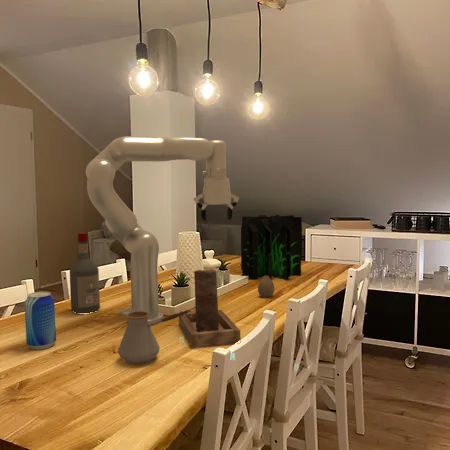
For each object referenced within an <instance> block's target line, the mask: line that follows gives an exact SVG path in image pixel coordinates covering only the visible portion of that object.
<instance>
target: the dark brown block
mask: <svg viewBox="0 0 450 450" xmlns="http://www.w3.org/2000/svg"><path fill="white" fill-rule="evenodd" d="M193 275H194V302H195V303H194V305H195V307H194V309H195V312H196V328H197V329H199V330H200V331H203V332H205V331H216V330H218V329H219V320H218V310H219V308H218V307H219V304H218V302H219V301H218V300H219V299H218V280H217V279H218V275H217V270H216V269H214V268H212V269H211V268H210V269H209V270H208V269H205V270H202V269H197V270H194V272H193Z"/></svg>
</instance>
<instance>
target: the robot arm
mask: <svg viewBox="0 0 450 450" xmlns="http://www.w3.org/2000/svg"><path fill="white" fill-rule="evenodd" d="M179 160H190V161H195V162H196V161H203V160H204V161H205V170H203V171H202V173H201V175H204V176H205V177H204V179H203V185H202V187H203V188H202V192H201V194H198V195H197V196H195V197H194V198H193V201H194V203H195V205H196V206H197V207H198V208H199V209H200V218H201V219H202V221H204V222H205V221H207V210H206V208H207V206H211V205H212V206H213V205H216V206H217V205H218V206H219V205H220V206H221V205H225V206H226V207H227V210H226V211H227V212H226V214H227V216H226V219H227V220H229V221H231V220H232V218H233V209H234V208H235V207H236V206H237V203H239V200H240V197H239V195H238V196H237V195H236V194H234V193H232V192H231V185H230V184H231V183H230V179H229V177H227V143H226V141H224V140H221V139H220V140H219V139H218V140H217V139H216V140H212V139H211V140H209V139H207V138H203V137H202V138H201V137H168V136H134V135H133V136H130V135H129V136H127V135H126V136H120V137H118V138H115V139H114V140H112V141H111V142H110V143H109V144H108V145H107V146H106V147H105V148H104V149H103V150H102V151H100V153H98V154H97V155H96V156H95V157H94V158H93V159H92V160H90V162H89V163H88V164H87V166H86V168H85V176H86V178H87V179H86V180H87V181H86V182H87V183H86V188H87V195H88V197H89V200H90V201H91V203H92V205H93V206H94V207H95V209H96V210H97V211H98V212H99V214H100V216H102V218H104V223H105V226H106V228H107V229H108V231H110V233H111V234H112V235H113V237H115V238H116V240H117V241H118V242H119V243H120V244H121V245H122V246H123V247H124V248H125V250H126V251H127V252H129V253H130V265H129V266H130V268H129V269H130V295H131V296H130V301H131V302H130V303H131V305H129V306H130V307H127V308H125V309H124V308H122V309H121V308H120V309H118V315H119V316H122V317H123V316H125V317H126V315H127V314H128V313H131V312H138V311H143V312H148V313H149V314H150V315H149V316H148V319H147V322H148V324H150V323H153V322H156V321H159V320H161V319H163V318H164V314H163V312H160V311H159V310H160V309H159V307H160V306H159V277H158V273H159V272H158V263H159V262H158V261H159V251H160V246H159V242H158V239H157V237H156V236H155V235H154V234H153V233H151V232H149V231H147V230H144V229H143V228H142V226H141V225H139V223H138V219H137V216H136V214H135V213H134V212H133V211H132V210H131V209H130V208H129V207H128V206H127V204H126V203H125V202H124V201H123V200H122V199H121V197H120V196H119V195H118V194H117V192H116V190H115V188H114V179H115V176H116V172H117V171H119V169H120V168H121V167H122V166H124V164H125V163H126V162H155V163H157V162H159V163H160V162H171V161H179ZM200 199H202V204H201V203H200V201H199V200H200ZM232 199H233V201H232Z"/></svg>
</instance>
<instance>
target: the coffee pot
mask: <svg viewBox="0 0 450 450" xmlns="http://www.w3.org/2000/svg"><path fill="white" fill-rule="evenodd" d="M188 312H190V313H191V312H192V311H191V310H189V309H186V310H184V311H182V310H181V311H179V312H177V313H173V314H170V315H168V316H166V317H163V319H161V320H159V321H156V322H153V323H148V322H147V319H148V316H149V315H150V314H149V313H148V312H143V311H138V312H131V313H128V314H127V315H126V316H125V317H126V318H127V321H128V324H127V325H126V329H125V331H124V333H123V336H122V339H121V341H120V344H119V345H118V346H119V347H118V348H117V353H118V356H119V357H120V358H121V359H122V360H124V361H125V363H126V364H129V365H145V364H148V363H150V362H152V361H153V360H154V358H156V357H157V355H158V354H159V353H160V345H159V343H158V341H157V339H156V336H155V334H154V332H153V330H152V328H151V327H153V326H156V325H159V324H161V323H166V322H168V321H172V320H175V319H177V318H179V316H183V315H184V314H187V313H188ZM188 316H189V314H188ZM189 317H190V316H189ZM191 317H192V313H191Z"/></svg>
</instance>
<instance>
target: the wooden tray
mask: <svg viewBox="0 0 450 450" xmlns="http://www.w3.org/2000/svg"><path fill="white" fill-rule="evenodd" d="M191 313H192V317H191ZM191 313H190V312H188V313H187V314H184V315H183V316H179V317H178V325H179V327H180V329H181V331H182V332H183V334H184V336H185V338H186V340H187V342H188V344H189V346H190V347H191V349H197V348H198V349H199V348H206V347H215V346H226V345H235V344H234V343H236V342H238V341H239V340H240V341H241V329H240V328H239V327H238V326H237V325H236V324H235V323H234V322H233V321H232V320H231V319H230V318H229V317H228V315H227V314H226V313H225V312H224V311H223V310H222V309H218V320H219V329H218V330H216V331H205V332H203V331H200V330H199V329H197V328H196V311H191ZM188 314H189V316H190V317H189V316H188Z"/></svg>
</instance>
